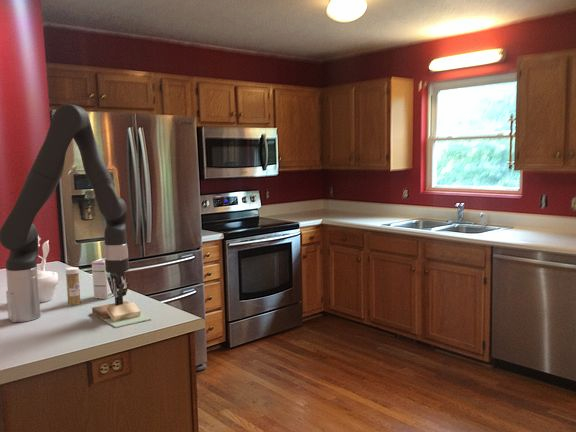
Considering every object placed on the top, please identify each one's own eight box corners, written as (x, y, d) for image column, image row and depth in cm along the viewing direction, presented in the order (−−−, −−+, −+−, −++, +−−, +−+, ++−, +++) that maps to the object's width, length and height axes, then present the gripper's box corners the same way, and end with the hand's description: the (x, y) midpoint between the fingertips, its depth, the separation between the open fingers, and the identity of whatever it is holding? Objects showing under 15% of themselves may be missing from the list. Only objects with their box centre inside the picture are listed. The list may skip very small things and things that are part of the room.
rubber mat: (115, 327, 167) (115, 326, 166) (103, 320, 174) (103, 319, 174) (151, 319, 174) (150, 318, 174) (138, 313, 182) (138, 311, 182)
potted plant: (52, 294, 207) (48, 231, 204) (64, 300, 199) (60, 234, 196) (18, 301, 198) (13, 235, 195) (29, 307, 190) (23, 238, 187)
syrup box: (107, 299, 200) (105, 261, 198) (93, 298, 201) (91, 261, 199) (115, 295, 205) (113, 258, 203) (101, 294, 206) (99, 258, 205)
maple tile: (113, 321, 171) (114, 316, 171) (107, 312, 176) (107, 307, 175) (140, 315, 177) (140, 310, 176) (132, 307, 181) (133, 302, 181)
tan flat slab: (103, 320, 175) (102, 314, 174) (92, 313, 182) (92, 307, 182) (137, 312, 182) (137, 307, 182) (126, 306, 190) (125, 301, 190)
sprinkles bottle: (75, 306, 191) (72, 269, 189) (64, 305, 192) (62, 269, 191) (83, 302, 195) (81, 267, 194) (73, 301, 197) (71, 266, 195)
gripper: (98, 255, 180) (101, 305, 182) (113, 261, 170) (116, 313, 172) (119, 252, 184) (122, 301, 187) (135, 258, 174) (138, 309, 177)
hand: (119, 307), depth 179 cm, fingers closed
